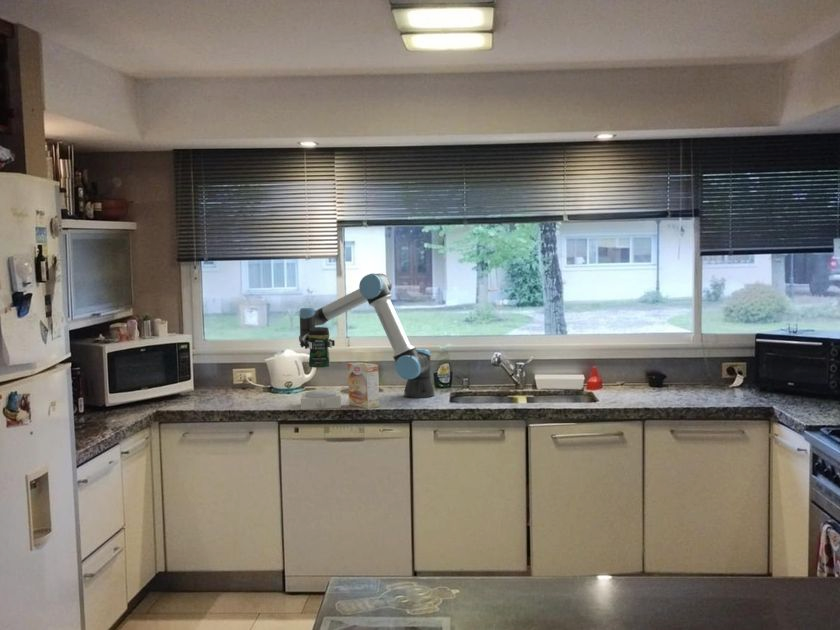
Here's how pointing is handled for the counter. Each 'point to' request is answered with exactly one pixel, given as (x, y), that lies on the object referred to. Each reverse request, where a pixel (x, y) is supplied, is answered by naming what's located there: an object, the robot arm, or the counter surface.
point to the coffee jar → (319, 347)
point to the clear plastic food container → (320, 400)
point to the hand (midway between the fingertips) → (321, 345)
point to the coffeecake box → (363, 385)
